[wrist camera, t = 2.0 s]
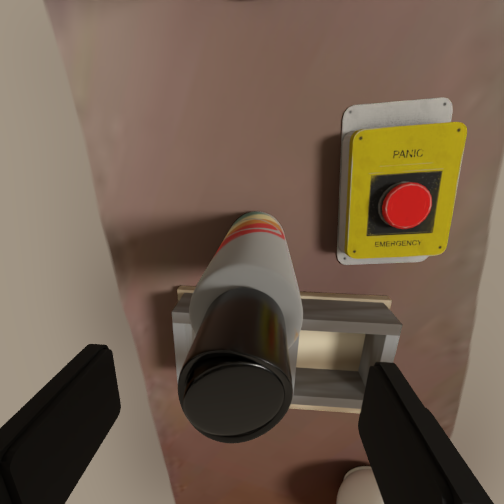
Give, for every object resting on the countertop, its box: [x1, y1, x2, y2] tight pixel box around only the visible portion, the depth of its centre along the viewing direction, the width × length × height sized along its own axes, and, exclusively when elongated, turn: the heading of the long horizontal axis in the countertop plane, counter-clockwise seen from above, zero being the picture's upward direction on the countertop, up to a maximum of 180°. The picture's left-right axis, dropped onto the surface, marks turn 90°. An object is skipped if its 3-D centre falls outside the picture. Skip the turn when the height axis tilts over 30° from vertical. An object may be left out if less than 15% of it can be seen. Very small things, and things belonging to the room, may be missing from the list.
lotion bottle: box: [178, 211, 303, 443], centre depth 17 cm, size 6×6×20 cm
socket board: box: [172, 286, 402, 413], centre depth 29 cm, size 16×23×5 cm
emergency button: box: [337, 98, 467, 265], centre depth 23 cm, size 9×4×15 cm
